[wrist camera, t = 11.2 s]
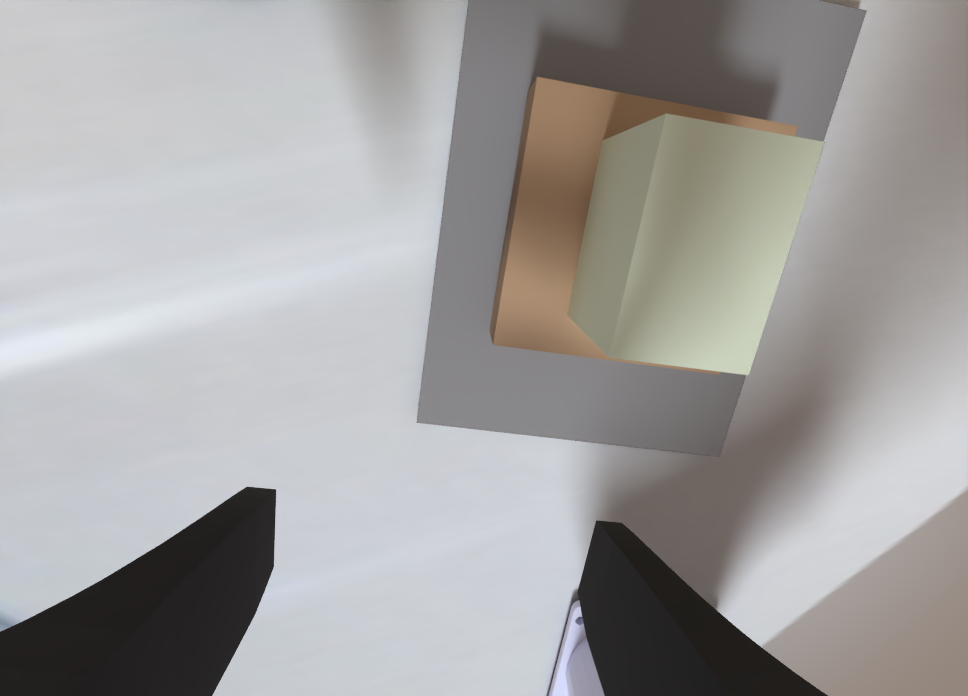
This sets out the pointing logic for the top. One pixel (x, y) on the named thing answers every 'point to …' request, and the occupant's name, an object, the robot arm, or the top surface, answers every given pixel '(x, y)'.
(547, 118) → the walnut base brick
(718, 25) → the grey mat
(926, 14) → the top surface
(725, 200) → the sage brick
